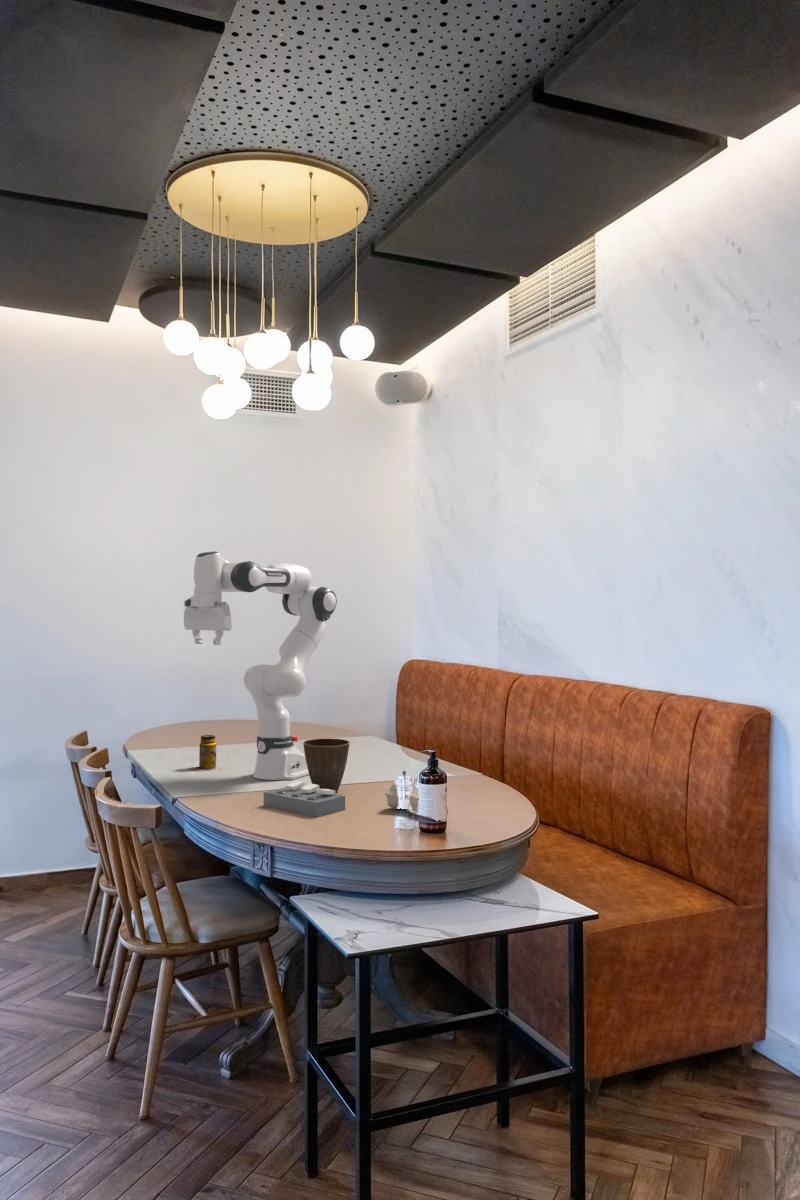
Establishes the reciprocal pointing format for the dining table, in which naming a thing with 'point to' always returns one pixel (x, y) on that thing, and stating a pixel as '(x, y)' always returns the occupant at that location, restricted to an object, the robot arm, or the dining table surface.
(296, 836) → the dining table surface
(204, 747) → the condiment
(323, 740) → the plant pot
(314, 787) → the rocker
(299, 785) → the rocker
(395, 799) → the faceted club
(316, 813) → the switch panel
